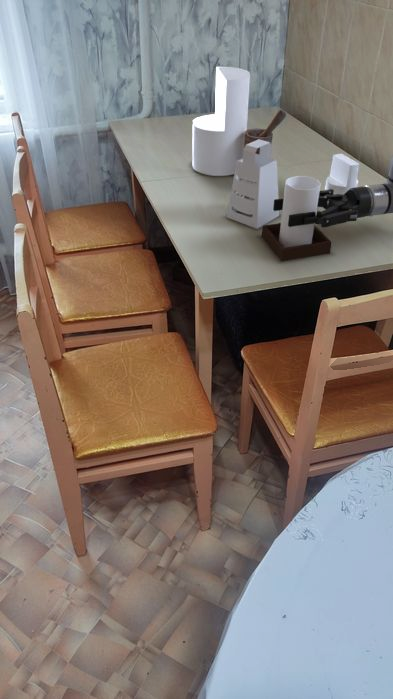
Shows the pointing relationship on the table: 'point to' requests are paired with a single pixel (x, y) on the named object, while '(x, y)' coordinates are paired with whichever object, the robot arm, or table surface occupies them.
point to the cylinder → (222, 125)
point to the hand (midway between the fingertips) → (281, 213)
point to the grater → (254, 186)
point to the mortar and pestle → (264, 131)
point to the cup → (298, 209)
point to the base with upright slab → (342, 174)
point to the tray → (317, 248)
